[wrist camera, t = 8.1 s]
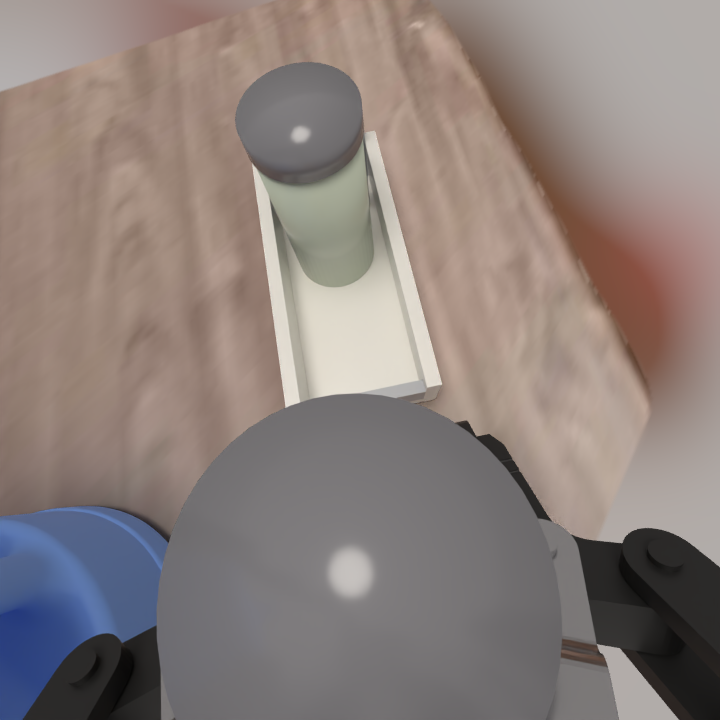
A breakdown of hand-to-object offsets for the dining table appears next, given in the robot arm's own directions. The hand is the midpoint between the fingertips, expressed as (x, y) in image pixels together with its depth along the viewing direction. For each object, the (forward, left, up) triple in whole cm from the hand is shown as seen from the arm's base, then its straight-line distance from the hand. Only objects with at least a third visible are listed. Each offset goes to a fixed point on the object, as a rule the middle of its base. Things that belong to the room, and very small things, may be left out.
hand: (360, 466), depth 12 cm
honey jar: (+1, -2, -5) cm, 5 cm away
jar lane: (-4, +12, -12) cm, 17 cm away
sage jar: (-5, +14, -11) cm, 19 cm away
